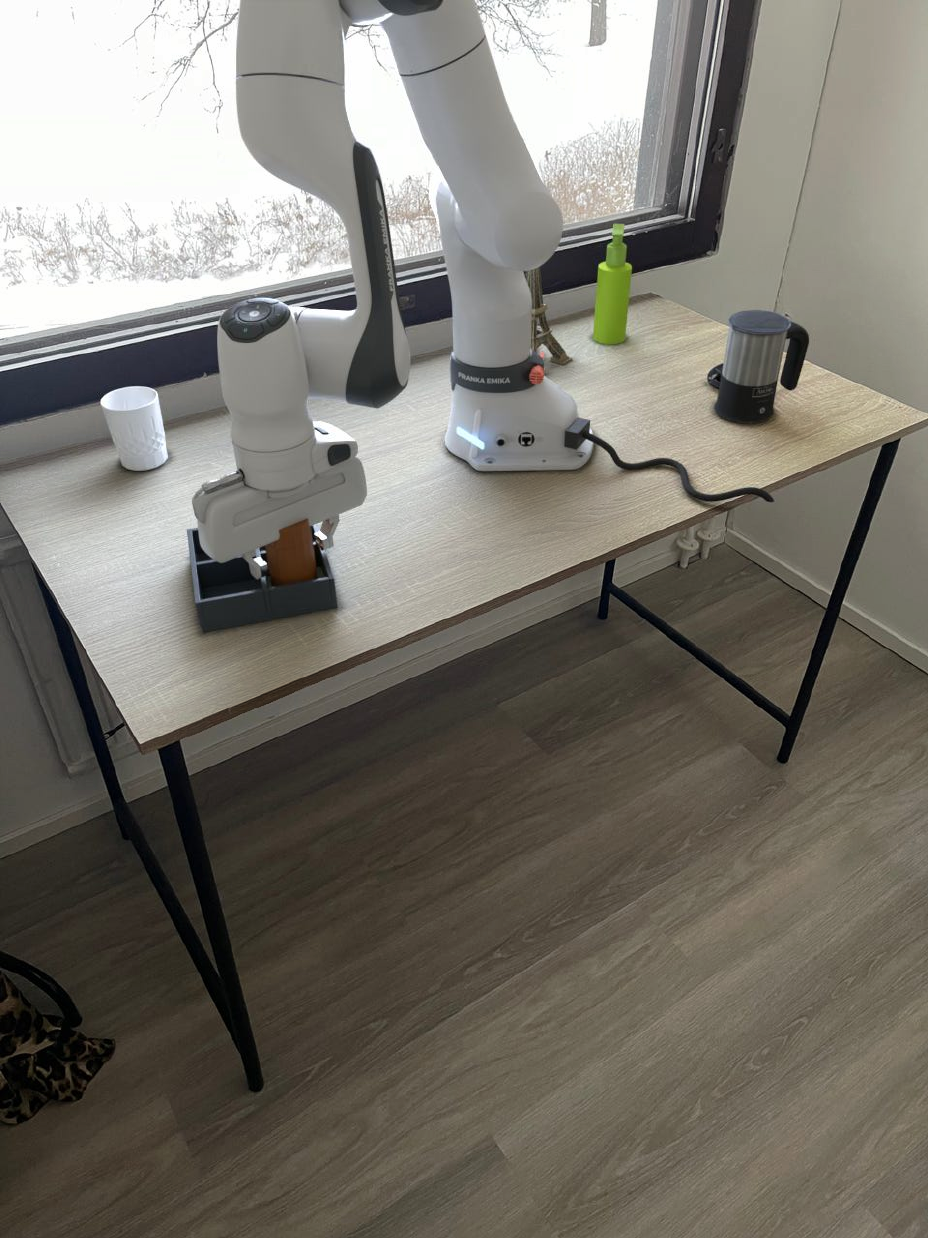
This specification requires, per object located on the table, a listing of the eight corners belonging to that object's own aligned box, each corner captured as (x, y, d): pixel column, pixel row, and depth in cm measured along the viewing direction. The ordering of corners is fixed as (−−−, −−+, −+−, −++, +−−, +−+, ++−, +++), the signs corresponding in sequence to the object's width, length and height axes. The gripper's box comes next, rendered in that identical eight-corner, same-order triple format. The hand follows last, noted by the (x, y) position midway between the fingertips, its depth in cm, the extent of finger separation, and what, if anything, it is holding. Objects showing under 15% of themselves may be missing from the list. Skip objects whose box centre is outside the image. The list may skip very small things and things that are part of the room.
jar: (323, 575, 115) (314, 505, 108) (311, 602, 110) (301, 531, 104) (280, 571, 115) (268, 502, 109) (266, 599, 111) (253, 528, 105)
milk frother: (747, 430, 144) (765, 337, 135) (669, 396, 154) (681, 306, 144) (803, 404, 151) (824, 313, 142) (725, 372, 161) (740, 285, 151)
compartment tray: (316, 536, 123) (312, 508, 120) (337, 607, 111) (334, 578, 109) (193, 557, 120) (186, 529, 117) (202, 632, 108) (195, 603, 105)
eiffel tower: (572, 359, 166) (581, 210, 150) (535, 379, 160) (540, 226, 144) (525, 344, 171) (529, 199, 155) (488, 362, 165) (488, 213, 149)
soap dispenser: (591, 345, 170) (600, 231, 158) (593, 330, 176) (602, 219, 163) (624, 347, 169) (635, 232, 157) (625, 332, 175) (636, 220, 162)
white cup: (143, 478, 135) (127, 415, 129) (106, 464, 139) (88, 402, 132) (183, 455, 141) (169, 393, 134) (146, 442, 144) (130, 381, 138)
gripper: (203, 501, 95) (226, 608, 103) (369, 438, 105) (378, 540, 113) (175, 477, 99) (200, 582, 107) (338, 418, 109) (349, 519, 117)
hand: (293, 560), depth 110 cm, fingers open, 7 cm apart
